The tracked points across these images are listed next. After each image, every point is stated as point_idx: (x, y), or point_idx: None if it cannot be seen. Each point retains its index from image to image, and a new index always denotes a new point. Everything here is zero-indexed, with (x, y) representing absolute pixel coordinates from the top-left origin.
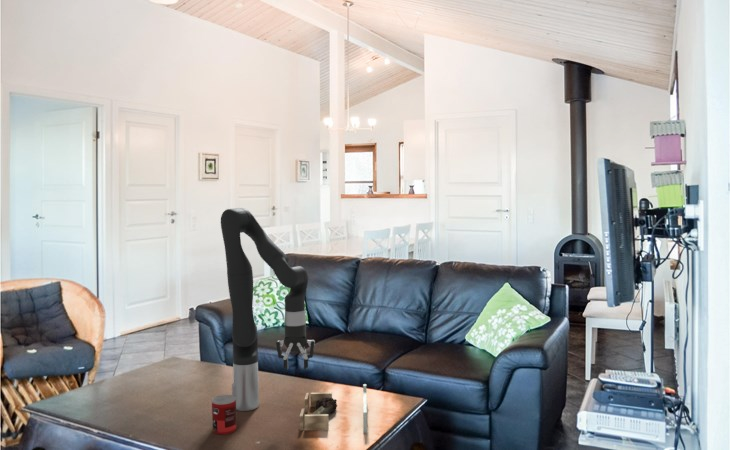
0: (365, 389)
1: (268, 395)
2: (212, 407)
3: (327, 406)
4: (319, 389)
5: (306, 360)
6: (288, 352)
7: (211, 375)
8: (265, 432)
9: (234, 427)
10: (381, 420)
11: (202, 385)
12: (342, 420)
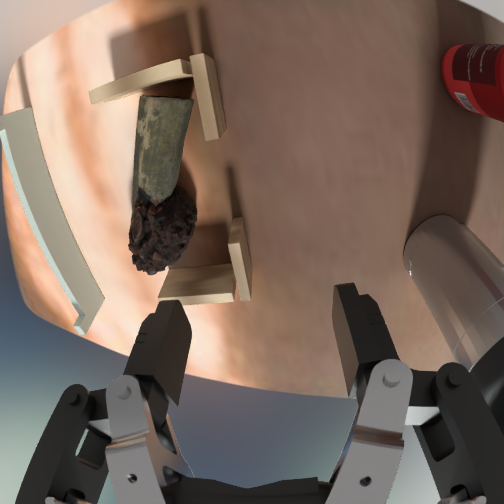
0: (79, 317)
1: None
2: None
3: (138, 208)
4: (246, 360)
5: (136, 371)
6: (360, 460)
7: None
8: (342, 38)
9: (447, 59)
10: None
11: None
12: (99, 173)
